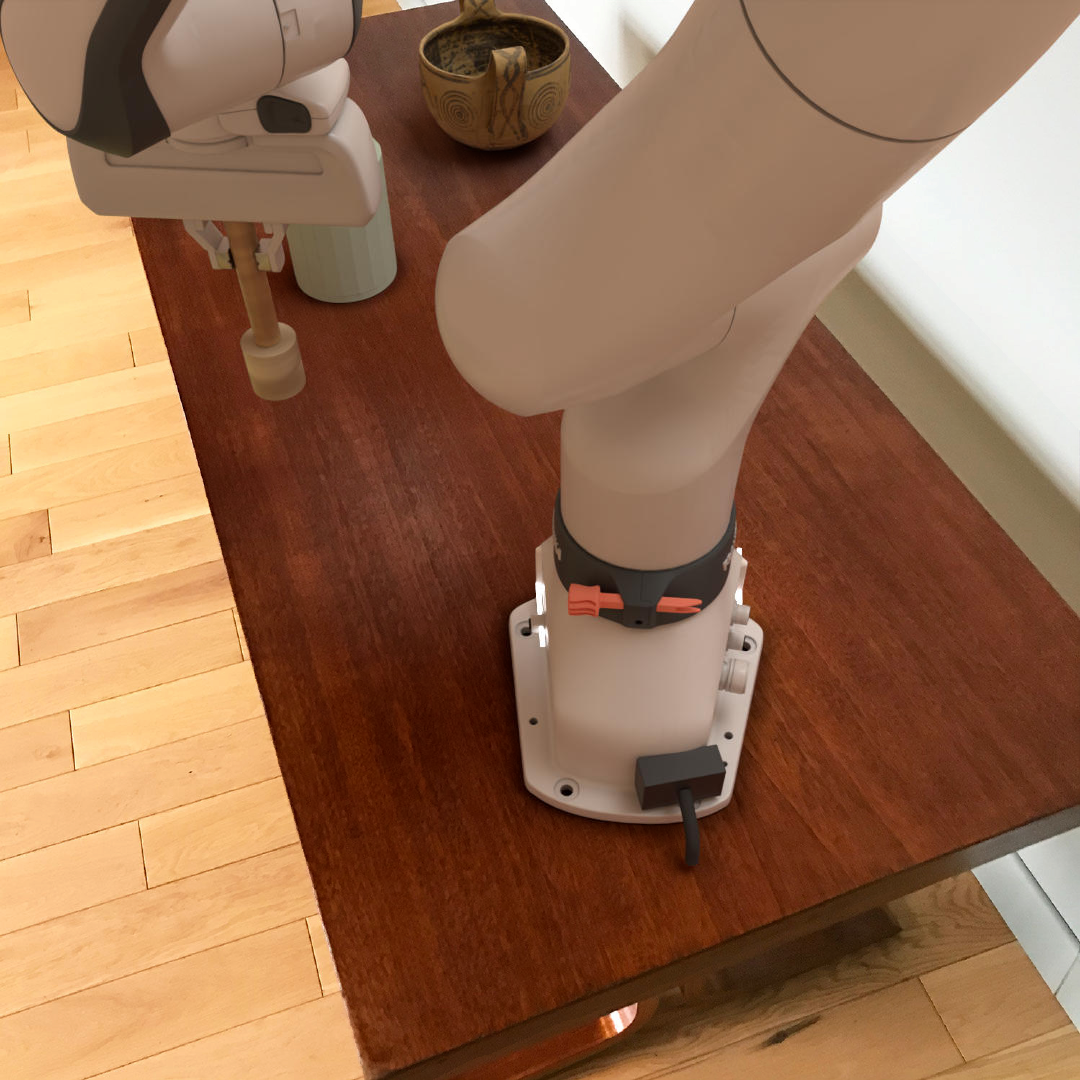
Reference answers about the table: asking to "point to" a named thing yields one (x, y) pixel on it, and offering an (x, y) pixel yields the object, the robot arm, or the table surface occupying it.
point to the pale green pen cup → (345, 255)
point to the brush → (263, 324)
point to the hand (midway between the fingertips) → (250, 266)
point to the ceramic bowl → (495, 76)
